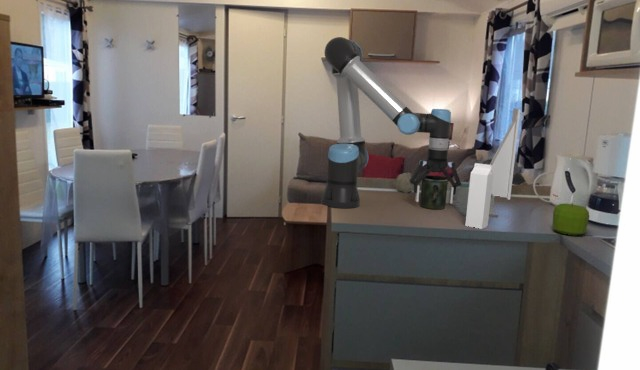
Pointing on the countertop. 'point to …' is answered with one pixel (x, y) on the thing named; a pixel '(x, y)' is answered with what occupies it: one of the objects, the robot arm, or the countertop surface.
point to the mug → (433, 192)
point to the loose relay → (447, 197)
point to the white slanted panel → (505, 160)
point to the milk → (479, 196)
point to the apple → (570, 219)
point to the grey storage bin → (462, 200)
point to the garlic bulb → (404, 183)
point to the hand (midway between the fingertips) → (433, 202)
